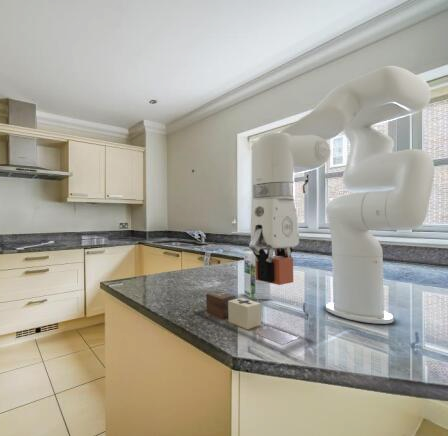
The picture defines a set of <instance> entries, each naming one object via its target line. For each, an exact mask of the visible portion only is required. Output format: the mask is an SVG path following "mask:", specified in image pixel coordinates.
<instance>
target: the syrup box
mask: <svg viewBox="0 0 448 436" xmlns="http://www.w3.org/2000/svg"><path fill="white" fill-rule="evenodd" d="M266 254H267V252H266ZM255 257H256V256H255V255H254V253H253V251H252V250H249V251H244V252H243V274H244V275H243V289H244V290H243V291H244V293H243V294H244V296H247V297H249V298H251V299H255V300H256V299H257V300H271V283H268V282H263V281H258V280H256V271H255Z"/></svg>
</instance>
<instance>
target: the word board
mask: <svg viewBox="0 0 448 436" xmlns="http://www.w3.org/2000/svg"><path fill="white" fill-rule="evenodd" d="M203 313H204V314H207V315H209V316H211V317H214V318H216V319H219V320H221V321H224V320H226V321H225V322H226V323H228V324H231V325H233V326H236V327H238V328H240V329H243V330H245V331H248V332H251V331H253V330H257V329H260V330H257V331H254V332H253V334H255V335H258V336H260V337H262V338H265V339H267V340H270V341H271V342H274V343H277V344H279V345H281V346H284V345H286V344H288V343H291V342H293V341H296V340H297V339H299V338H300V337H299V336H295V335H293V334H291V333H288V332H285V331H282V330H280V329H277V328H275V327H271V326H268V327H266V324H263V323H261V325H259V326H256V327H253V328H250V329H245V328H243V327H241V326H238V325H236V324H233V323H231V322H229V320H227V319H228V317H226V318H223V319H222V318H219V317H217V316H215V315H212V314H210V313H207V310H206V311H203ZM262 327H266V328H262ZM261 328H262V329H261Z"/></svg>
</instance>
